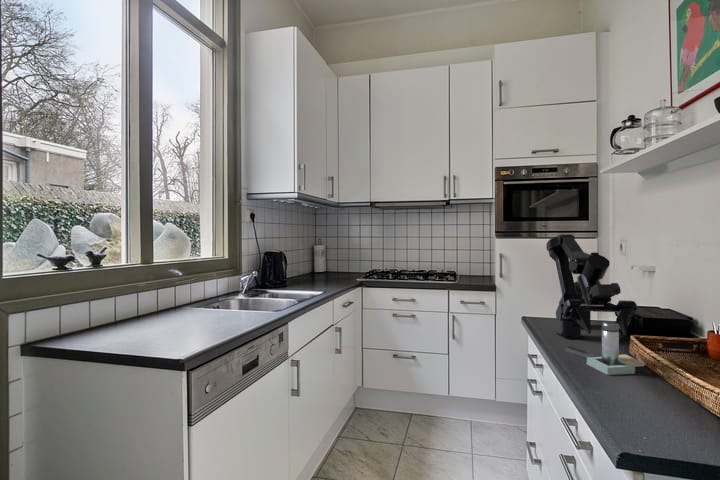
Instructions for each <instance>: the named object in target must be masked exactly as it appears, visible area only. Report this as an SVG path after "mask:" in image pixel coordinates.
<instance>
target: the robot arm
mask: <svg viewBox="0 0 720 480" xmlns="http://www.w3.org/2000/svg"><path fill="white" fill-rule="evenodd" d="M580 246H581V245H580V244H579V243H578V242H577V241H576V239H575V235H573V234H559V235H557V236H555V237H553V238H549V240H548V241H546V250H547V251H548V255H549V257H550V258H551V259H552V260H553V261H554V262H555V266H556V271H557V275H558V280H559V286H560V290H561V298H560V299H559V300H558V301H559V302H558V305H557V308H556V311H555V318H556V319H557V320H559V321H560V332H556V334H557V336H560V337H562V338H565V339H566V340H574V339H575V340H577V339H579V340H580V339H585V336H583V335H582V330H584V331H585V332H586V333H587V334H589V335H591V333H592V331H591V328H590V326H591V325H590V326H589V324H588V321H587V319H586V317H587V311H591V312H594V313H595V312H596V313H614V315H615V317H616V318H615V320H616V323H619V330H621V333H622V334H623V335H624V336H627V334H628V322H629V321H628V320H629V319H631V318H633V316H634V315H635V314H636V312H637V310H638V308H639V307H638V304H637V303H636V301H633V300H618V303H617V304H616V305H615V304H609V303H611V302H612V297H615V296H618V295H620V294H621V292H622V291H621V287H620V284H619V283H618V282H611V283H609V284H605V283H603V284H602V283H601V280H602V279H603V278H605V277H604V276H605V275H606V273H607V270H608V269H609V266H610V264H611V263H610V260H609V259H608V258H606V257H605V256H603V255H601V254H599V252H590V254H589V253H587V252H584V251H583V249H582V248H581V247H580ZM573 275H578V276H579V277H578V286H580V288H581V291H582V294H583V295H582V294H578V293H577V292H576V288H575V284H574V282H575V281H574V276H573ZM584 300H585V302H584ZM585 303H586V304H585ZM581 327H582V328H583V329H581Z"/></svg>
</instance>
